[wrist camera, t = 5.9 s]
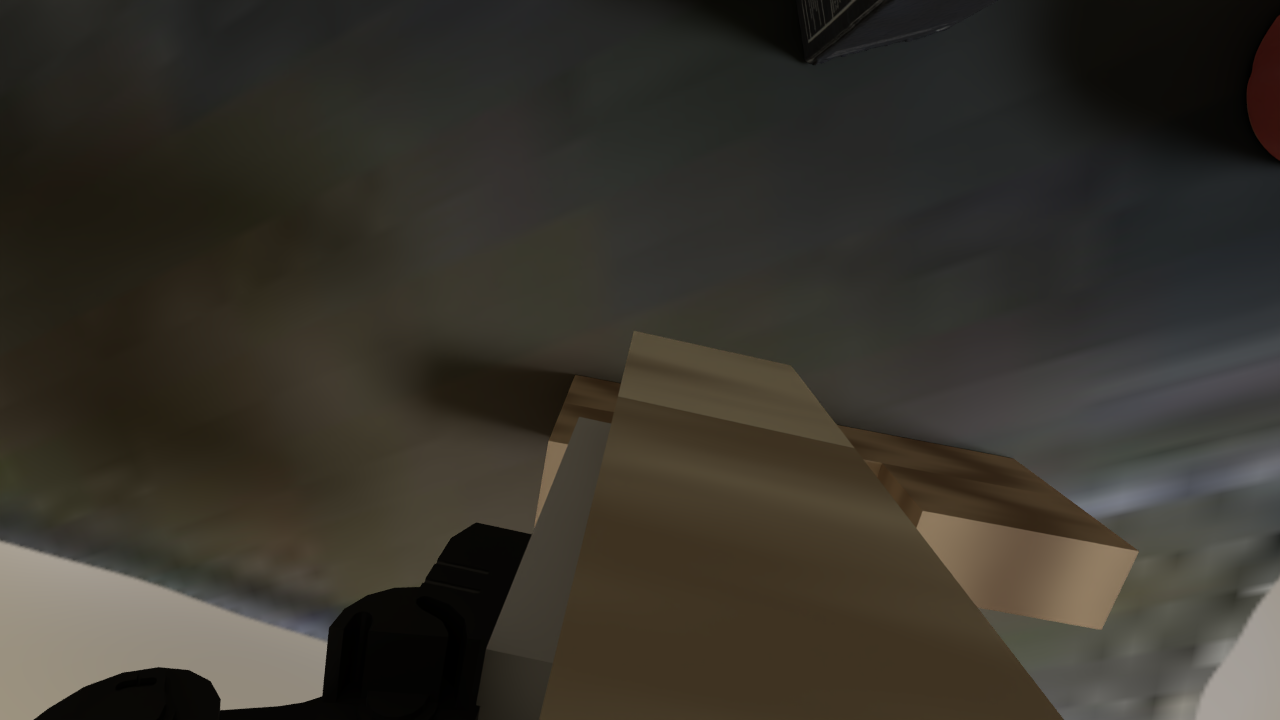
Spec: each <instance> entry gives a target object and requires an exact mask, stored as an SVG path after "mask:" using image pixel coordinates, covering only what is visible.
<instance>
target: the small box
mask: <svg viewBox="0 0 1280 720" xmlns="http://www.w3.org/2000/svg"><path fill="white" fill-rule="evenodd" d="M996 1H998V0H796V4H797V11H798V17H799V24H800V29H801V37H802V43H803V49H804V60H805V61H806V62H808V63H809V64H812V65H816V64H818V63H824V62H826V61H829V60H831V59H832V58H835V57H839V56H841V57H845V56H847V55H848V54H851V53H853V54H854V53H858V52H860V51H862V50H866V51H867V50H869V49H871V48H876V47H880V46H888V45H890V44H893V43H897V42H901V41H906V42H909V41H912V40H916V39H919V38H922V37H925V36H927V35H931V34H933V33H935V32H939V31H944V30H947V29H949V28H950V27H952V26H953V25H955V24H956V23H958V22H960V21H962V20H964V19H966V18H968V17H969V16H971V15H973V14H974V13H976V12H978V11H980V10H982V9H983V8H985V7H987V6H989V5H991V4H992V3H994V2H996Z"/></svg>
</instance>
